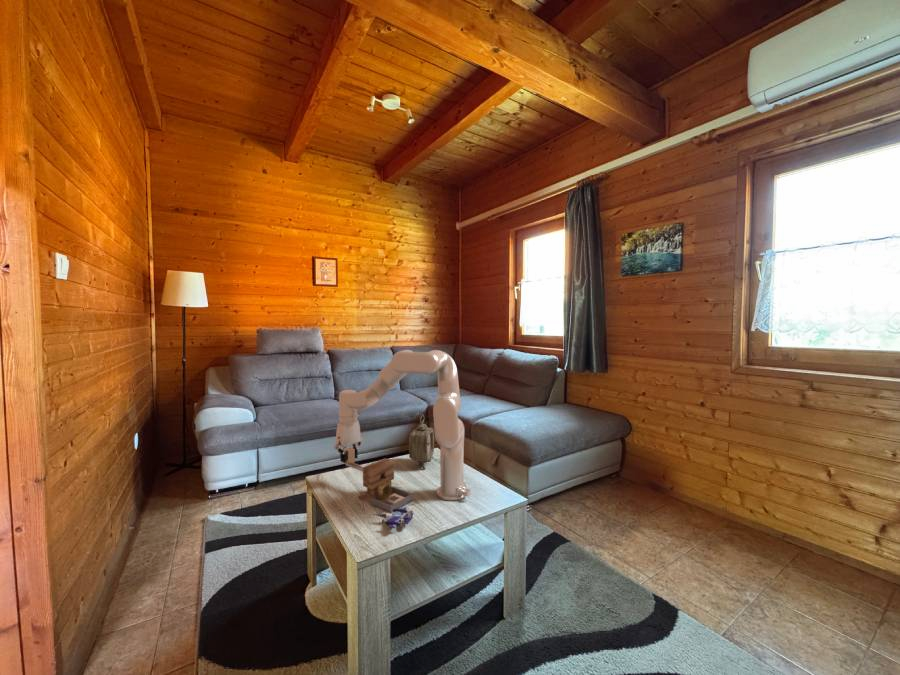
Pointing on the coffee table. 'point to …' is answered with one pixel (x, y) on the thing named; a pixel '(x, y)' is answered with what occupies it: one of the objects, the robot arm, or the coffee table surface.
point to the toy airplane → (397, 517)
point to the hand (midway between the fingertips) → (349, 459)
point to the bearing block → (376, 477)
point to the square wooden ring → (389, 499)
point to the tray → (397, 505)
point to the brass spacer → (380, 490)
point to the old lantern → (421, 443)
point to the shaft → (353, 460)
